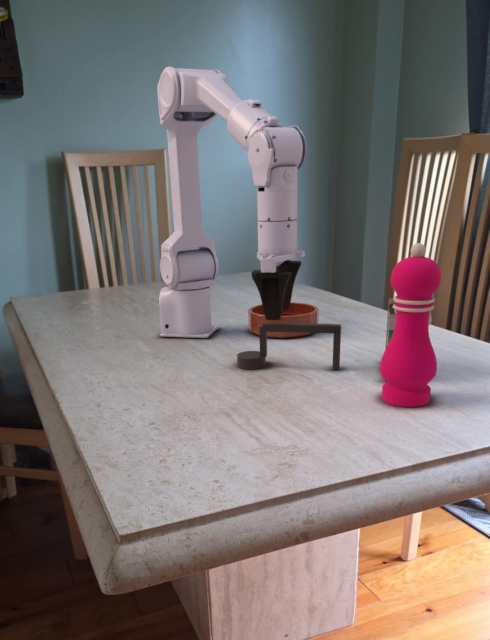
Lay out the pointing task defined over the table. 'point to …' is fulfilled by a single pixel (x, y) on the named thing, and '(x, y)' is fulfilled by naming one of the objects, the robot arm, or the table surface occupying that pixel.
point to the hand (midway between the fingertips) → (277, 314)
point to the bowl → (284, 319)
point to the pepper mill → (411, 332)
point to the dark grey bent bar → (258, 359)
